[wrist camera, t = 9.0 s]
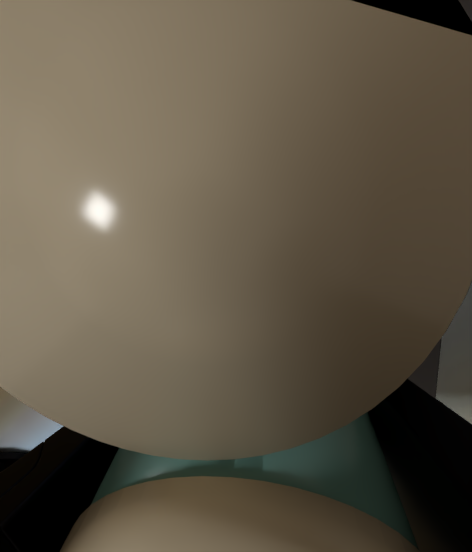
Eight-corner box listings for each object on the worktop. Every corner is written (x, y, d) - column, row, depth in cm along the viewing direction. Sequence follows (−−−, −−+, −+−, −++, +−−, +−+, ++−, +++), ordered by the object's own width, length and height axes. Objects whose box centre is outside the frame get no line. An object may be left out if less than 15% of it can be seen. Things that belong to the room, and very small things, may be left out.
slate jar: (330, 253, 11) (450, 461, 4) (174, 271, 12) (19, 460, 5) (321, 56, 9) (613, -503, 1) (129, 99, 10) (-323, -71, 2)
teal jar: (343, 397, 12) (456, 781, 5) (200, 404, 13) (113, 727, 6) (335, 258, 10) (538, 598, 2) (162, 281, 11) (-68, 566, 3)
